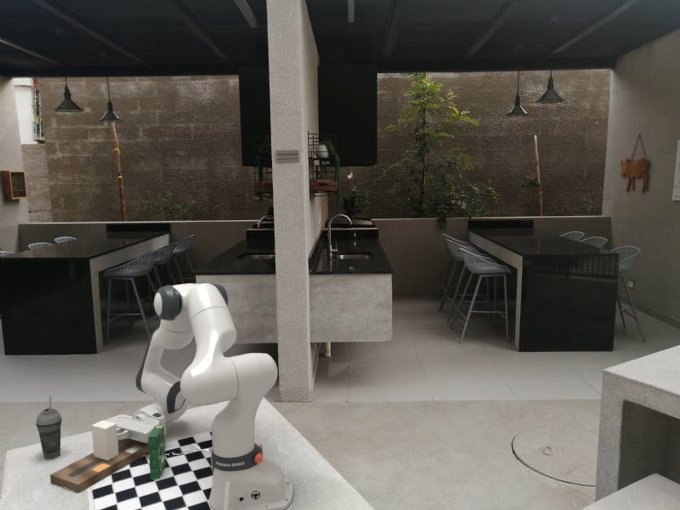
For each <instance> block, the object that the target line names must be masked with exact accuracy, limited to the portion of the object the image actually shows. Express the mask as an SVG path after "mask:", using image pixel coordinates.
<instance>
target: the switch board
mask: <svg viewBox="0 0 680 510" xmlns="http://www.w3.org/2000/svg"><path fill="white" fill-rule="evenodd" d="M118 452H119V455H117V456H116V457H114V458H112V459H110V460H108V461H107V460H104V459H100V458H97V457H94V451H93V452H91V453H90V454H87V455H85V456H83V457H81V458H79V459H78V460H76V461H75V462H72V463H70V464H68V465H67V466H65V467H63V468H61V469H58V470H57V471H54V472H53V473H51V474H49V477H50V478H49V479H50V484H52V483H54V484H53V485H55V484H57V485H56V486H58V485H60V486H59V487H61V486H63V487H66V488H68V489H67V490H69V489H71V490H70V491H72V490H73V491H72V492H74V491H76V492H75V493H77V492H80V493H82V492H83V491H85V490H87V489H88V488H89V487H91V486H93V485H96V484H97V483H99V482H101V481H102V480H104V479H105V478H107V477H109V476H110V475H113V474H114V473H115V472H117V470H118V471H119V470H121V469H123V468H125V467H126V466H128V465H130V464H131V463H133V462H135V461H137V460H139V459H140V458H141V457H143V456H145V455H147V454H149V445H148V443H143V442H140V441H136V440H132V439H129V438H127V439H122V440H118ZM63 487H62V488H63ZM66 488H65V489H66Z"/></svg>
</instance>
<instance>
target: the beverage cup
mask: <svg viewBox="0 0 680 510" xmlns="http://www.w3.org/2000/svg"><path fill="white" fill-rule="evenodd" d="M48 401H49V403H48V408H44V409H42V410H41V412H39V414H38V415H37V417H36V423H35V426H36V428H37V431H38V436H39V440H40V445H41V450H42V454H43V458H44V460H49V461H51V460H54V459H57V458H58V457H60V456H61V443H62V442H61V440H62V439H61V437H62V436H61V433H62V432H61V427H62V421H63V419H62V415H61V413H60V412H59V411H58V410H57V409H55V408H52V395H49V399H48Z"/></svg>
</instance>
